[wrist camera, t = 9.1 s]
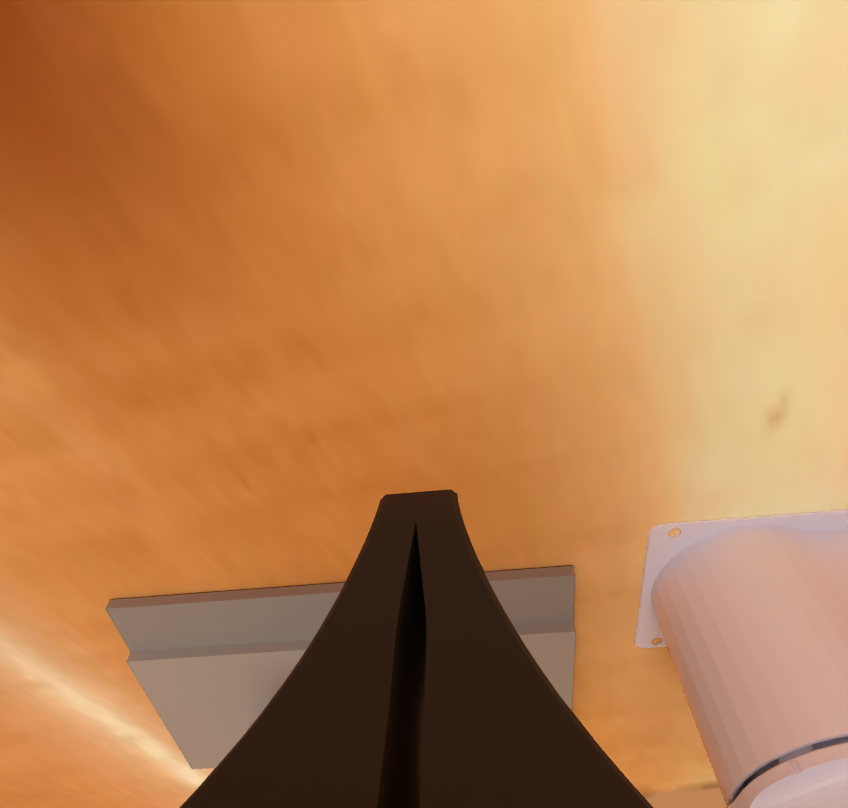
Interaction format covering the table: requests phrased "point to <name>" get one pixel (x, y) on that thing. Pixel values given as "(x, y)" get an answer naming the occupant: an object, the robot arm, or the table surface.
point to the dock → (290, 648)
